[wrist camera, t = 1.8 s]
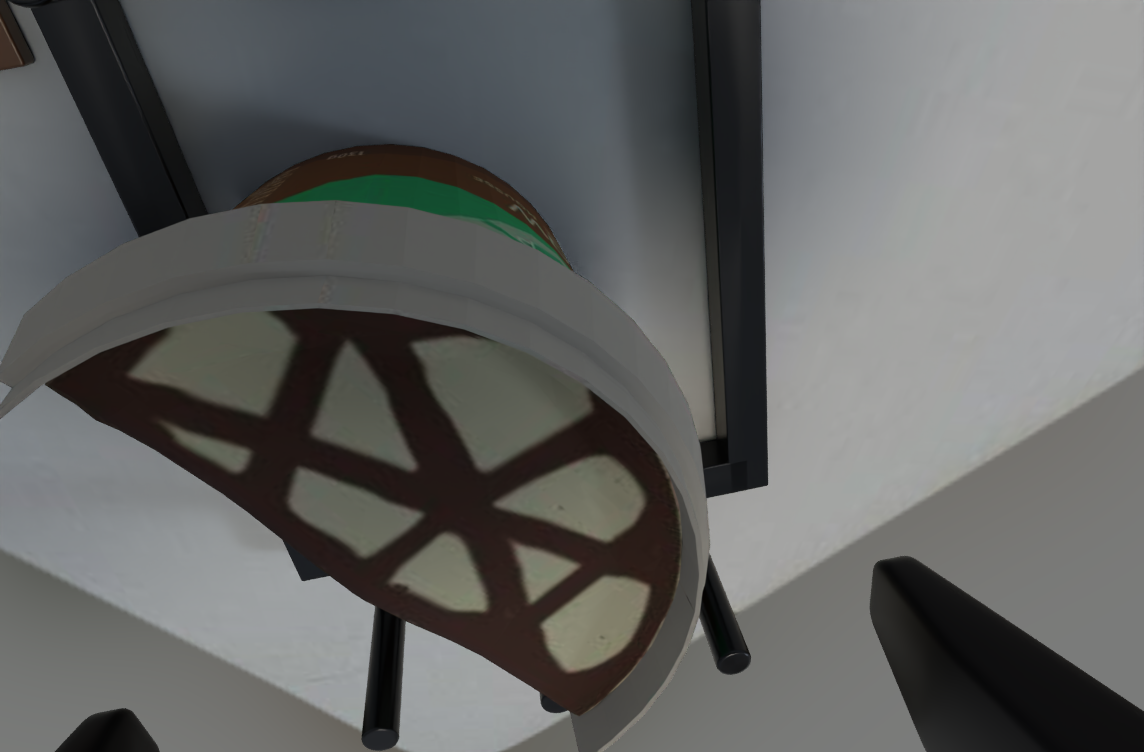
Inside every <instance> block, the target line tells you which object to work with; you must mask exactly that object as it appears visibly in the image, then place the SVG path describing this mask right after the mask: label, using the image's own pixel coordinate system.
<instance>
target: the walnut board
mask: <svg viewBox="0 0 1144 752" xmlns="http://www.w3.org/2000/svg"><path fill="white" fill-rule="evenodd" d="M33 62H34V58H33V56H32V54H31V52H30V50H29V48H28V46H27V44H26V42H25V40H24V38H23V36H22V34H21V32H20V29H19V27H18V25H17V23H16V21H15V19H14V17H13V15H12V13H11V11H10V9H9V7H8V5H7V3H6V1H5V0H0V71H1V70H6V69H12V68H17V67H23V66H26V65H29V64H31V63H33Z"/></svg>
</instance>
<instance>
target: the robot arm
mask: <svg viewBox="0 0 1144 752" xmlns="http://www.w3.org/2000/svg"><path fill="white" fill-rule="evenodd" d="M870 614H871V619H872V622H873V625H874V628H875V630H876V633H877V635H878V638H879V640H880V643H881V645H882V647H883V650H884V652H885V655H886V657H887V660H888V662H889V665H890V667H891V669H892V672H893V674H894V677H895V679H896V682H897V684H898V686H899V689H900V691H901V694H902V696H903V698H904V701H905V703H906V705H907V708H908V710H909V713H910V715H911V718H912V720H913V723H914V725H915V728H916V730H917V732H918V734H919V737H920V739H921V741H922V743H923V746H924V748H925V750H926V751H927V752H1144V711H1142V710H1141V709H1139V708H1138V707H1136V706H1135V705H1133V704H1132V703H1130V702H1129V701H1127V700H1126V699H1124V698H1123V697H1121V696H1120V695H1118V694H1117V693H1115V692H1114V691H1112V690H1111V689H1109V688H1108V687H1107V686H1105V685H1103V684H1102V683H1101V682H1099V681H1097V680H1096V679H1095V678H1093V677H1092V676H1090V675H1088V674H1087V673H1086V672H1084V671H1083V670H1081V669H1080V668H1078V667H1076V666H1075V665H1074V664H1072V663H1071V662H1069V661H1067V660H1066V659H1065V658H1063V657H1062V656H1060V655H1058V654H1057V653H1055V652H1054V651H1053V650H1051V649H1049V648H1048V647H1047V646H1045V645H1044V644H1042V643H1041V642H1039V641H1038V640H1036V639H1034V638H1033V637H1032V636H1030V635H1029V634H1027V633H1026V632H1024V631H1022V630H1021V629H1020V628H1018V627H1016V626H1015V625H1014V624H1012V623H1010V622H1009V621H1007V620H1006V619H1005V618H1003V617H1002V616H1000V615H999V614H997V613H996V612H994V611H993V610H991V609H990V608H988V607H987V606H985V605H984V604H982V603H981V602H979V601H978V600H976V599H975V598H973V597H971V596H970V595H969V594H967V593H966V592H964V591H963V590H961V589H960V588H958V587H957V586H955V585H954V584H952V583H951V582H949V581H947V580H946V579H945V578H943V577H942V576H940V575H939V574H937V573H936V572H934V571H932V570H931V569H930V568H928V567H927V566H925V565H924V564H922V563H921V562H919V561H917V560H916V559H914V558H912V557H909V556H900V557H895V558H890V559H885V560H880V561H878V562H877V563H876V564H875V566H874V569H873V577H872V588H871V599H870ZM55 752H160V751H159V748H158V746H157V744H156V743H155V741H154V740H153V739H152V737H151V736H150V735H149V733H148V732H147V731H146V729H145V728H144V726H143V725H142V724H141V722H140V721H139V719H138V718H137V717H136V716H135V714H134V713H133V712H132V711H130V710H128V709H126V708H125V709H124V708H122V709H116V710H111V711H106V712H100V713H97V714H94V715H91V716H90V717H88V718H87V719H85V720H84V721H83V722H82V723H81V724H80V725H79V726H78V727H77V728H76V730H75V731H74V732H73V733H72V734H71V735H70V736H69V737H68V738H67V739H66V740H65V741H64V742H63V743H62V744H61V746H60V747H59V748H58V749H57V750H56V751H55Z"/></svg>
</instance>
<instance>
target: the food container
mask: <svg viewBox="0 0 1144 752" xmlns="http://www.w3.org/2000/svg"><path fill="white" fill-rule="evenodd" d="M0 381H1V382H2V383H4V384H6V385H8V386H10V387H12V389H11V391H10V392H9V393H8V395H7V396H6V397H5V399H4V400H3V401H2V403H1V404H0V419H1V418H2V417H3V416H5V415H6V414H7V413H8V412H10V411H11V410H12V409H13V408H14V407H16V406H17V405H18V404H19V403H20V402H22V401H23V400H24V399H25V398H26V397H28V396H29V395H30V394H31V393H33V392H34V391H35V390H36V389H37V388H39V387H40V386H41V385H43V384H45V385H46V386H48V387H49V388H51V389H52V390H54V391H55V392H57V393H58V394H60V395H61V396H63V397H65V398H66V399H68V400H70V401H71V402H73V403H74V404H76V405H77V406H79V407H80V408H81V409H82V410H84V411H85V412H86V413H87V414H89V415H90V416H91V417H92V418H94V419H95V420H97V421H99V422H101V423H103V424H106V425H108V426H110V427H113V428H115V429H117V430H120V431H122V432H123V433H125V434H127V435H129V436H131V437H133V438H134V439H136V440H138V441H140V442H142V443H143V444H145V445H147V446H149V447H151V448H152V449H154V450H156V451H157V452H159V453H160V454H162V455H164V456H165V457H167V458H168V459H170V460H171V461H173V462H174V463H176V464H177V465H179V466H181V467H182V468H184V469H185V470H187V471H188V472H190V473H191V474H193V475H194V476H196V477H198V478H199V479H201V480H202V481H204V482H205V483H207V484H208V485H210V486H211V487H213V488H214V489H216V490H218V491H219V492H221V493H222V494H224V495H225V496H226V497H228V498H229V499H230V500H232V501H233V502H235V503H236V504H237V505H239V506H240V507H241V508H243V509H244V510H246V511H247V512H248V513H249V514H251V515H252V516H253V517H255V518H256V519H257V520H258V521H260V522H261V523H262V524H263V525H265V526H266V527H267V528H268V529H270V530H271V531H272V532H274V533H275V534H276V535H277V536H279V537H280V538H281V539H282V540H284V541H285V542H286V543H287V544H289V545H290V546H291V547H293V548H294V549H295V550H296V551H298V552H299V553H300V554H301V555H303V556H304V557H305V558H307V559H308V560H309V561H310V562H312V563H313V564H314V565H315V566H317V567H318V568H320V569H321V570H322V571H324V572H325V573H326V574H328V575H329V576H331V577H332V578H333V579H335V580H336V581H337V582H339V583H340V584H342V585H343V586H344V587H346V588H347V589H348V590H349V591H351V592H352V593H354V594H355V595H357V596H358V597H360V598H361V599H363V600H365V601H366V602H368V603H371V604H373V605H375V606H377V607H379V608H381V609H383V610H385V611H387V612H389V613H391V614H393V615H394V616H396V617H398V618H400V619H402V620H404V621H407V622H409V623H411V624H414V625H416V626H418V627H421V628H423V629H425V630H428V631H430V632H432V633H435V634H437V635H439V636H442V637H444V638H446V639H448V640H451V641H453V642H455V643H457V644H459V645H461V646H463V647H465V648H467V649H469V650H471V651H473V652H475V653H477V654H479V655H481V656H483V657H484V658H486V659H487V660H489V661H491V662H492V663H494V664H496V665H497V666H499V667H500V668H502V669H504V670H505V671H507V672H508V673H510V674H512V675H513V676H515V677H516V678H518V679H520V680H521V681H523V682H525V683H526V684H528V685H529V686H531V687H533V688H534V689H536V690H537V691H539V692H540V693H542V694H543V695H545V696H547V697H548V698H550V699H551V700H553V701H554V702H556V703H557V704H559V705H560V706H562V707H564V708H565V709H567V710H568V711H570V714H571V719H572V723H573V728H574V732H575V737H576V741H577V746H578V750H579V752H602V751H604V750H605V749H607V748H608V747H609V746H611V745H612V744H614V743H615V742H616V741H617V740H618V739H619V738H620V737H621V736H622V735H623V734H624V733H625V732H627V731H628V730H629V729H630V728H631V727H632V726H633V725H634V724H635V723H636V722H637V721H638V720H639V719H640V718H641V717H643V716H644V714H645V713H646V712H647V711H648V710H649V708H650V707H651V706H652V705H653V703H654V702H655V701H656V699H657V698H658V697H659V695H660V694H661V693H662V692H663V691H664V689H665V688H666V687H667V685H668V684H669V683H670V681H671V679H672V677H673V676H674V673H675V672H676V670H677V668H678V667H679V665H680V663H681V661H682V659H683V658H684V656H685V654H686V652H687V650H688V648H689V645H690V642H691V639H692V636H693V633H694V630H695V627H696V624H697V621H698V618H699V615H700V608H701V600H702V591H703V589H704V586H705V580H706V572H707V565H708V557H709V550H710V537H709V524H708V510H707V499H706V491H705V482H704V474H703V465H702V456H701V448H700V443H699V440H698V436H697V433H696V429H695V426H694V422H693V419H692V416H691V412H690V409H689V405H688V402H687V401H686V399H685V397H684V395H683V393H682V391H681V389H680V387H679V385H678V383H677V381H676V380H675V378H674V376H673V374H672V372H671V370H670V368H669V366H668V364H667V362H666V361H665V359H664V358H663V357H662V356H661V354H660V353H659V352H658V350H657V349H656V348H655V347H654V345H653V344H652V343H651V342H650V340H649V339H648V338H647V337H646V335H645V334H644V333H643V332H642V330H641V329H640V328H639V327H638V325H637V324H636V323H635V322H634V320H633V319H632V318H630V317H629V316H628V315H627V314H626V313H625V312H624V311H622V310H621V309H620V308H619V307H618V306H617V305H616V304H614V303H613V302H612V301H611V300H610V299H609V298H608V297H606V296H605V295H604V294H603V293H602V292H601V291H600V290H598V289H597V288H596V287H595V286H594V285H593V284H592V283H590V282H589V281H587V280H586V279H584V278H582V277H581V276H579V275H577V274H576V273H574V272H573V270H572V268H571V266H570V264H569V263H568V261H567V259H566V257H565V255H564V253H563V252H562V250H561V248H560V246H559V244H558V242H557V241H556V239H555V237H554V235H553V233H552V231H551V230H550V228H549V226H548V225H547V224H546V222H545V221H544V220H543V219H542V217H541V216H540V215H539V213H538V212H537V211H536V210H535V208H534V207H533V206H532V205H531V204H530V203H529V202H528V201H527V200H526V199H525V198H524V197H523V196H521V195H520V194H519V193H518V192H517V191H516V190H515V189H514V188H513V187H511V186H510V185H509V184H508V183H506V182H504V181H503V180H501V179H500V178H498V177H497V176H495V175H494V174H492V173H490V172H489V171H487V170H486V169H484V168H482V167H480V166H478V165H475V164H473V163H471V162H468V161H466V160H464V159H461V158H459V157H457V156H454V155H451V154H447V153H443V152H439V151H435V150H431V149H427V148H423V147H414V146H404V145H394V144H384V145H366V146H355V147H350V148H346V149H341V150H336V151H332V152H327V153H323V154H321V155H318V156H316V157H313V158H311V159H308V160H306V161H303V162H300V163H298V164H295V165H293V166H292V167H290V168H288V169H287V170H285V171H283V172H282V173H280V174H278V175H277V176H275V177H273V178H271V179H270V180H268V181H267V182H265V183H264V184H263V185H262V186H261V187H259V188H258V189H257V190H256V191H254V192H253V193H252V194H251V195H250V196H248V197H247V198H246V199H245V200H243V201H242V202H241V203H240V204H238V205H237V206H236V207H235V208H234V209H232V210H229V211H224V212H219V213H214V214H209V215H204V216H199V217H194V218H190V219H187V220H184V221H182V222H179V223H176V224H174V225H171V226H168V227H166V228H163V229H161V230H158V231H155V232H153V233H150V234H147V235H145V236H142V237H139V238H137V239H134V240H131V241H129V242H126V243H124V244H122V245H120V246H119V247H117V248H115V249H113V250H112V251H110V252H108V253H107V254H105V255H103V256H102V257H100V258H98V259H97V260H95V261H93V262H92V263H90V264H88V265H86V266H85V267H83V268H81V269H80V270H78V271H76V272H75V273H73V274H71V275H70V276H68V277H66V278H65V279H64V280H63V281H62V282H60V283H59V284H58V285H57V286H56V287H55V288H54V289H53V290H51V291H50V292H49V293H48V294H47V295H46V296H45V297H43V298H42V299H41V300H40V301H39V302H38V303H37V304H35V305H34V306H33V307H32V308H31V309H30V310H29V311H27V312H26V313H25V314H24V316H23V318H22V320H21V322H20V324H19V327H18V329H17V331H16V333H15V335H14V337H13V339H12V341H11V344H10V346H9V348H8V350H7V352H6V354H5V356H4V359H3V361H2V363H1V365H0Z"/></svg>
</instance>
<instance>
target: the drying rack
mask: <svg viewBox="0 0 1144 752" xmlns="http://www.w3.org/2000/svg"><path fill="white" fill-rule="evenodd" d="M8 1H10V2H12V3H13V4H16V5H18V6H21V7H26V8H31V10H32V12H33V14H34V17H35V19H36V21H37V23H38V25H39V27H40V29H41V31H42V33H43V36H44V38H45V40H46V42H47V44H48V46H49V48H50V50H51V52H52V55H53V57H54V59H55V61H56V63H57V65H58V67H59V69H60V71H61V74H62V76H63V78H64V80H65V82H66V84H67V86H68V88H69V90H70V93H71V95H72V97H73V99H74V101H75V103H76V105H77V107H78V109H79V112H80V114H81V116H82V118H83V120H84V122H85V124H86V126H87V128H88V131H89V133H90V135H91V137H92V139H93V141H94V143H95V145H96V147H97V150H98V152H99V154H100V156H101V158H102V160H103V162H104V164H105V166H106V169H107V171H108V173H109V175H110V177H111V179H112V181H113V183H114V185H115V188H116V190H117V192H118V194H119V196H120V198H121V200H122V202H123V204H124V207H125V209H126V211H127V213H128V215H129V217H130V219H131V221H132V223H133V226H134V228H135V230H136V232H137V234H138V236H139V237H142V236H145V235H147V234H150V233H153V232H155V231H158V230H161V229H163V228H166V227H168V226H171V225H174V224H176V223H179V222H182V221H184V220H187V219H190V218H194V217H199V216H204V215H208V214H207V212H206V209H205V207H204V205H203V202H202V200H201V197H200V195H199V193H198V190H197V188H196V185H195V183H194V181H193V178H192V176H191V173H190V171H189V169H188V166H187V164H186V161H185V159H184V157H183V154H182V152H181V149H180V147H179V145H178V142H177V140H176V137H175V135H174V133H173V130H172V128H171V125H170V123H169V121H168V118H167V116H166V113H165V111H164V109H163V106H162V104H161V101H160V99H159V97H158V94H157V92H156V89H155V87H154V85H153V82H152V80H151V77H150V75H149V73H148V70H147V68H146V65H145V63H144V61H143V58H142V56H141V53H140V51H139V49H138V46H137V44H136V41H135V39H134V37H133V34H132V32H131V29H130V27H129V25H128V22H127V20H126V17H125V15H124V13H123V10H122V8H121V5H120V3H119V1H118V0H8ZM691 8H692V24H693V41H694V58H695V75H696V92H697V109H698V126H699V143H700V160H701V177H702V194H703V211H704V227H705V244H706V261H707V278H708V295H709V312H710V329H711V346H712V363H713V380H714V397H715V414H716V430H717V440H714V441H709V442H704V443H700V448H701V456H702V465H703V474H704V482H705V491H706V498H709V497H714V496H719V495H724V494H729V493H734V492H738V491H743V490H748V489H753V488H758V487H763V486H767V485H768V448H767V385H766V321H765V258H764V195H763V132H762V68H761V5H760V0H691ZM283 542H284V544H285V546H286V548H287V550H288V553H289V555H290V557H291V559H292V561H293V563H294V565H295V567H296V569H297V572H298V574H299V576H300V578H301V580H302V581H306V580H311V579H316V578H321V577H326V576H329V575H328V574H326V573H325V572H324V571H322V570H321V569H320V568H318V567H317V566H315V565H314V564H313V563H312V562H310V561H309V560H308V559H307V558H305V557H304V556H303V555H301V554H300V553H299V552H298V551H296V550H295V549H294V548H293V547H291V546H290V545H289V544H287V543H286V542H285V541H284V540H283ZM699 618H700V621H701V624H702V627H703V630H704V632H705V635H706V638H707V641H708V644H709V646H710V649H711V652H712V655H713V658H714V661H715V664H716V666H717V668H718V669H719V670H720V672H722V673H724V674H728V675H732V674H737V673H740V672H742V671H744V670H745V669H746V668H747V667H748V666H749V664H750V662H751V656H750V653H749V650H748V648H747V645H746V643H745V641H744V638H743V635H742V633H741V631H740V628H739V626H738V623H737V621H736V618H735V616H734V613H733V611H732V608H731V606H730V603H729V601H728V598H727V596H726V593H725V591H724V588H723V586H722V583H721V581H720V578H719V576H718V573H717V571H716V568H715V566H714V563H713V561H712V558H711V556H710V553H709V557H708V565H707V572H706V580H705V586H704V589H703V591H702V600H701V608H700V615H699ZM405 624H406V621H404V620H402V619H400V618H398V617H396V616H394V615H393V614H391V613H389V612H387V611H385V610H383V609H381V608H379V607H377V606H375V613H374V622H373V632H372V642H371V652H370V661H369V671H368V681H367V691H366V700H365V710H364V720H363V730H362V742H363V744H364V746H365V747H367V748H368V749H371V750H375V751H382V750H387V749H390V748H392V747H393V746H395V745H396V743H397V742H398V739H399V727H400V710H401V693H402V676H403V658H404V641H405ZM540 700H541V705H542V707H543V708H544V709H545V710H546V711H548V712H551V713H561V712H565V711H567V709H565V708H564V707H562V706H560V705H559V704H557V703H556V702H554V701H553V700H551V699H550V698H548V697H547V696H545V695H543V694H542V693H540Z"/></svg>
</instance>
